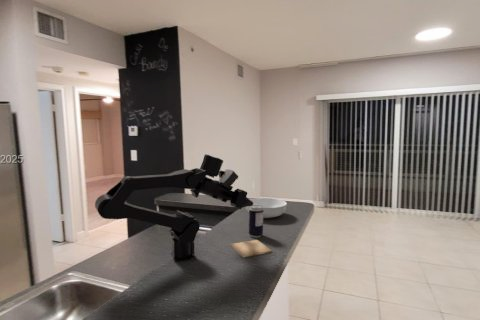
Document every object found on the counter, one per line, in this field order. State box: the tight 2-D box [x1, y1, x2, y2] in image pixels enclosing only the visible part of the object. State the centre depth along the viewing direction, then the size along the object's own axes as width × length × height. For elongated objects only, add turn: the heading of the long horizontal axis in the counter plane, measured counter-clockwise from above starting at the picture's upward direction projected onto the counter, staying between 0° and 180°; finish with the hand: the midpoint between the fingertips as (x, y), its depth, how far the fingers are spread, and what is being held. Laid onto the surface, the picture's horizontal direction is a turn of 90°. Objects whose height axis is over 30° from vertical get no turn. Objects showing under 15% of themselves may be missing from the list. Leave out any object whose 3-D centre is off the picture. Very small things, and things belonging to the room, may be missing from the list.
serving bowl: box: [245, 197, 288, 219], centre depth 147 cm, size 21×21×7 cm
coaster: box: [230, 239, 273, 258], centre depth 105 cm, size 11×11×1 cm
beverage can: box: [248, 205, 264, 238], centre depth 118 cm, size 6×6×12 cm
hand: (245, 201), depth 110 cm, fingers open, 9 cm apart
